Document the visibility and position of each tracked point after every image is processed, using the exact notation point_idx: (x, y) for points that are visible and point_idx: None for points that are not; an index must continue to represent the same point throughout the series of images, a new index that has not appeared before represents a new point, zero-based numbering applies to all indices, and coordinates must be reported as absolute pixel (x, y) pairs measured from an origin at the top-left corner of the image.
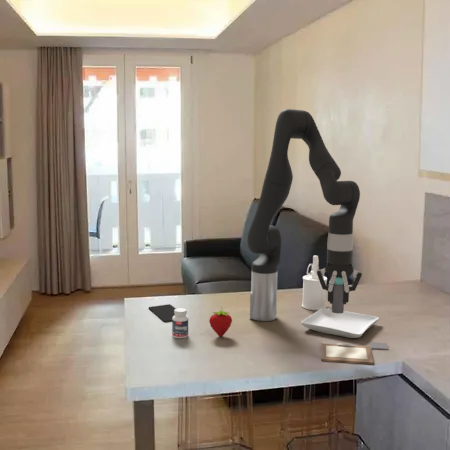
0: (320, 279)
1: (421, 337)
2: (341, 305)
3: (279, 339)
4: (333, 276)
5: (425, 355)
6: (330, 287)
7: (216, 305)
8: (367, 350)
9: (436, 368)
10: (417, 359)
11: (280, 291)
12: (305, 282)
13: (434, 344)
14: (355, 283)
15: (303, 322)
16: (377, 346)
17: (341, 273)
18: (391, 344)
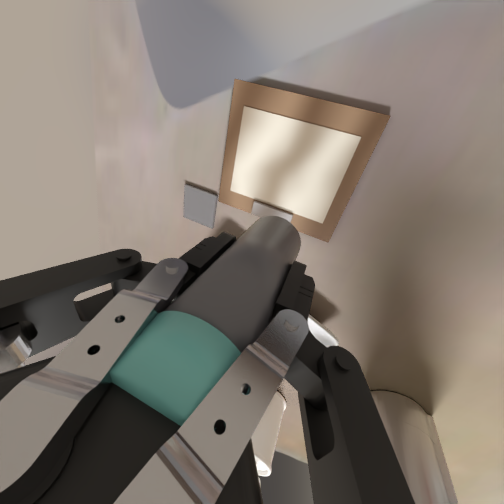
0: (395, 495)
1: (129, 235)
2: (251, 231)
3: (430, 301)
4: (206, 458)
5: (124, 143)
6: (284, 338)
7: (466, 490)
8: (229, 176)
9: (105, 52)
10: (138, 118)
11: (297, 455)
12: (269, 457)
13: (111, 200)
14: (65, 275)
15: (328, 343)
16: (203, 201)
17: (65, 455)
18: (176, 213)
